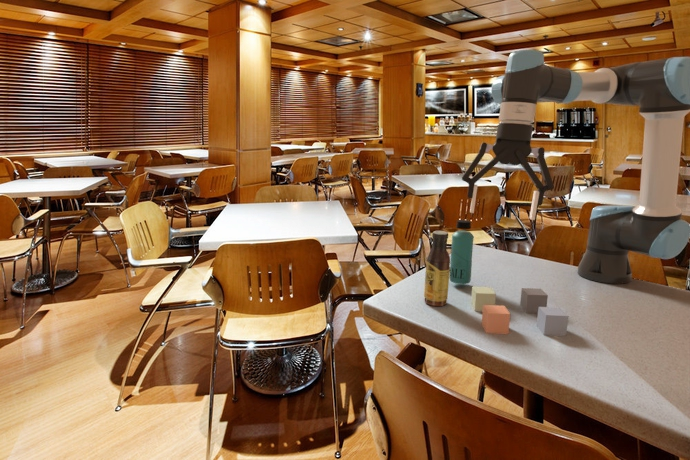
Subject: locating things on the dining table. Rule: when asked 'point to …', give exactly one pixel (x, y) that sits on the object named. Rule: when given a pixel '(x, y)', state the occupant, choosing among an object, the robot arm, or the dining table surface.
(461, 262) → the beverage bottle
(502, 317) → the cube terracotta
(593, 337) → the dining table surface
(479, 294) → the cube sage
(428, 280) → the sauce bottle
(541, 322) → the cube slate
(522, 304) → the cube charcoal
